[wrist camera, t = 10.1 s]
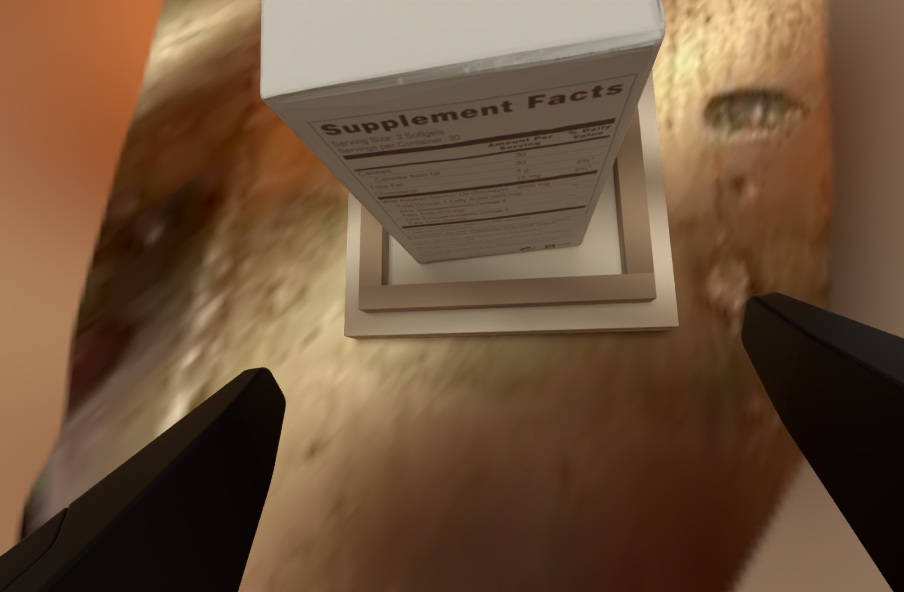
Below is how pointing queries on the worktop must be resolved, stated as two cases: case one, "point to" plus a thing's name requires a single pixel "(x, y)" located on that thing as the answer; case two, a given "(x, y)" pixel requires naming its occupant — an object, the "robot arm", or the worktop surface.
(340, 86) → the supplement box
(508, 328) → the display stand
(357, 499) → the worktop surface
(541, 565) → the worktop surface
